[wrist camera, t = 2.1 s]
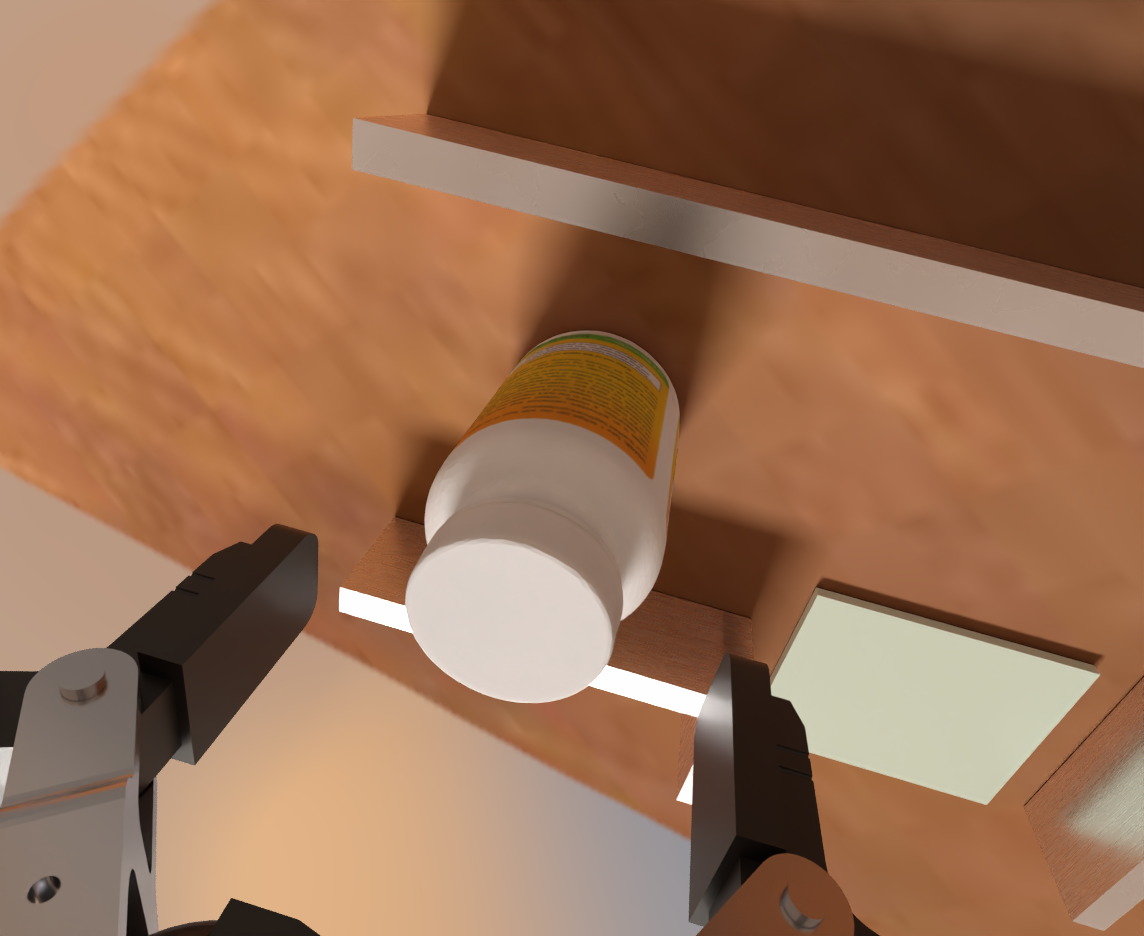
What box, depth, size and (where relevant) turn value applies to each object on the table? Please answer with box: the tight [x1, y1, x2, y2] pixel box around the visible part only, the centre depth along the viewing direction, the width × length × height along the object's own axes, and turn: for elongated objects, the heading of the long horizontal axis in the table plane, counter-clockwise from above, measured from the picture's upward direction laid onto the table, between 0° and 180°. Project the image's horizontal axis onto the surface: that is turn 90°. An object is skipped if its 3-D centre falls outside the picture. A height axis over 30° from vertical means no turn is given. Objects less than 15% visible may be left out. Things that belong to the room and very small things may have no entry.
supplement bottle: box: [405, 330, 680, 703], centre depth 16 cm, size 5×5×10 cm
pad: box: [770, 587, 1100, 805], centre depth 23 cm, size 7×9×1 cm
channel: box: [339, 114, 1144, 931], centre depth 19 cm, size 18×26×4 cm
